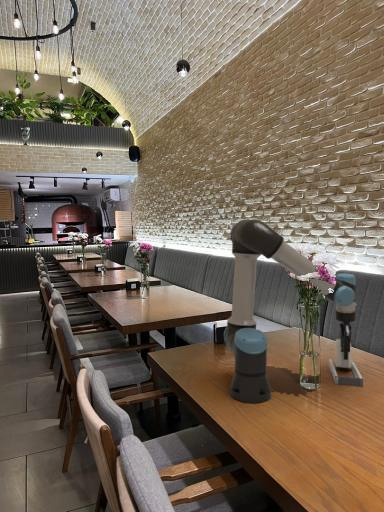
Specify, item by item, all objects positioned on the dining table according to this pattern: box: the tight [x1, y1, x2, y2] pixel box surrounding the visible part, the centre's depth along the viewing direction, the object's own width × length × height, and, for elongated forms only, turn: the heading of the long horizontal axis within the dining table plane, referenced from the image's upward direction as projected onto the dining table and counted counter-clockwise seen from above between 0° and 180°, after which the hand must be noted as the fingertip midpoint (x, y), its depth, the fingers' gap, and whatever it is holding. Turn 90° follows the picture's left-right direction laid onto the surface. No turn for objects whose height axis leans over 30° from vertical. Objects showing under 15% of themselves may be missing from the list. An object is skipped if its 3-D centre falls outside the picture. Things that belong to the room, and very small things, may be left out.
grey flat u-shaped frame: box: [328, 358, 364, 387], centre depth 158 cm, size 20×10×3 cm, turn 167°
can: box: [334, 338, 352, 369], centre depth 165 cm, size 6×6×12 cm
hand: (345, 366), depth 160 cm, fingers closed
